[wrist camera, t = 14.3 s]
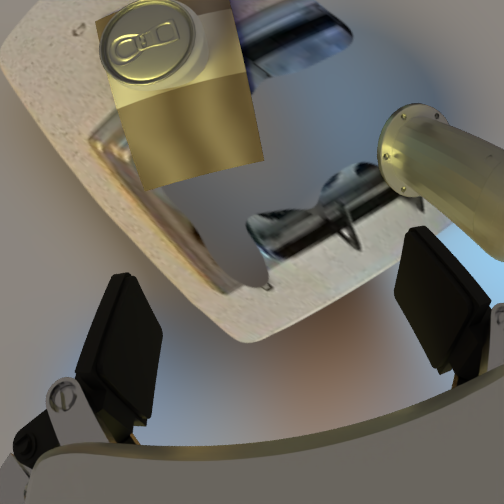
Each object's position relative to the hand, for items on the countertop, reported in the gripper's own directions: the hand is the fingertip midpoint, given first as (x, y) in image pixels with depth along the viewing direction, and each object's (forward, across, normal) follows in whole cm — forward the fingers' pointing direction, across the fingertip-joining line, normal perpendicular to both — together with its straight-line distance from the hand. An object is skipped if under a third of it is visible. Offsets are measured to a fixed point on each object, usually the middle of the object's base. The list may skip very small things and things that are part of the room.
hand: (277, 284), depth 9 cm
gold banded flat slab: (+23, +5, -7) cm, 24 cm away
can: (+21, +5, -10) cm, 24 cm away
